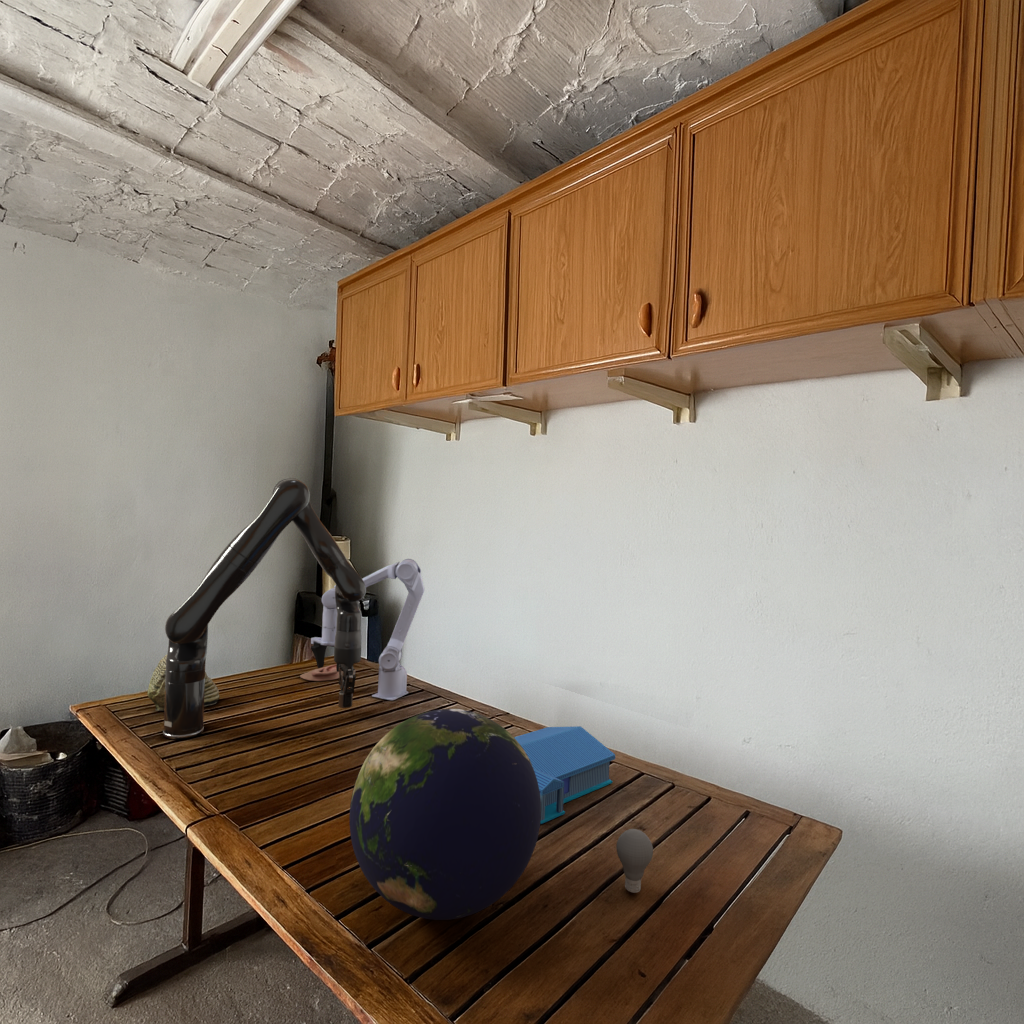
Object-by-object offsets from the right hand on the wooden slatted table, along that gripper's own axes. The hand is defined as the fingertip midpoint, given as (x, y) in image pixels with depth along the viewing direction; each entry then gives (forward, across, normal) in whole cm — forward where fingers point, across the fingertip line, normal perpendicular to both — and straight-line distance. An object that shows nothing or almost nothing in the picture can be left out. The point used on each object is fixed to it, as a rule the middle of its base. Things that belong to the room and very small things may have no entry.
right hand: (330, 669), depth 202 cm
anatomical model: (+8, -15, +14) cm, 22 cm away
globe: (+8, +84, -74) cm, 112 cm away
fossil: (+8, -28, -30) cm, 42 cm away
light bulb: (+8, +110, -57) cm, 125 cm away
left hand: (+4, +17, -14) cm, 22 cm away
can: (+5, +17, -14) cm, 23 cm away
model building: (+8, +81, -33) cm, 88 cm away
